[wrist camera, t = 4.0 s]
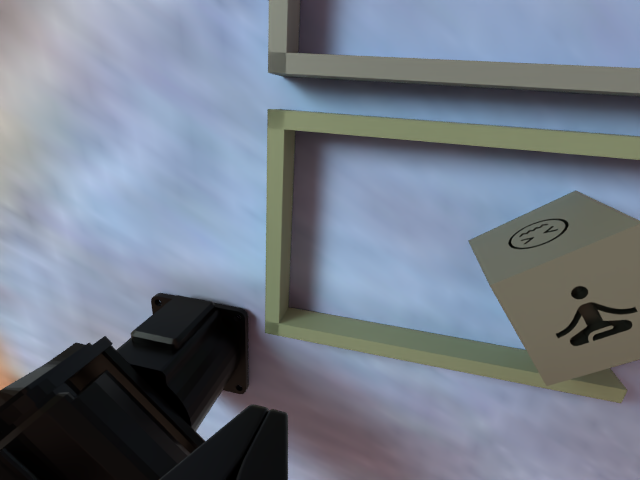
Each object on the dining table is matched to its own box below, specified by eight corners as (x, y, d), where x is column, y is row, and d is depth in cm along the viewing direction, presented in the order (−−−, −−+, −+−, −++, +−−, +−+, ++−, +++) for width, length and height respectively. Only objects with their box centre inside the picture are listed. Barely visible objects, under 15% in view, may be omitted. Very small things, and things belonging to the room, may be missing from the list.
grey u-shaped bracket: (602, 377, 19) (621, 403, 17) (275, 316, 22) (265, 332, 20) (706, 141, 14) (746, 145, 13) (280, 109, 18) (267, 109, 16)
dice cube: (511, 318, 19) (546, 386, 14) (467, 240, 18) (489, 285, 13) (617, 279, 17) (697, 342, 12) (575, 190, 16) (643, 222, 11)
